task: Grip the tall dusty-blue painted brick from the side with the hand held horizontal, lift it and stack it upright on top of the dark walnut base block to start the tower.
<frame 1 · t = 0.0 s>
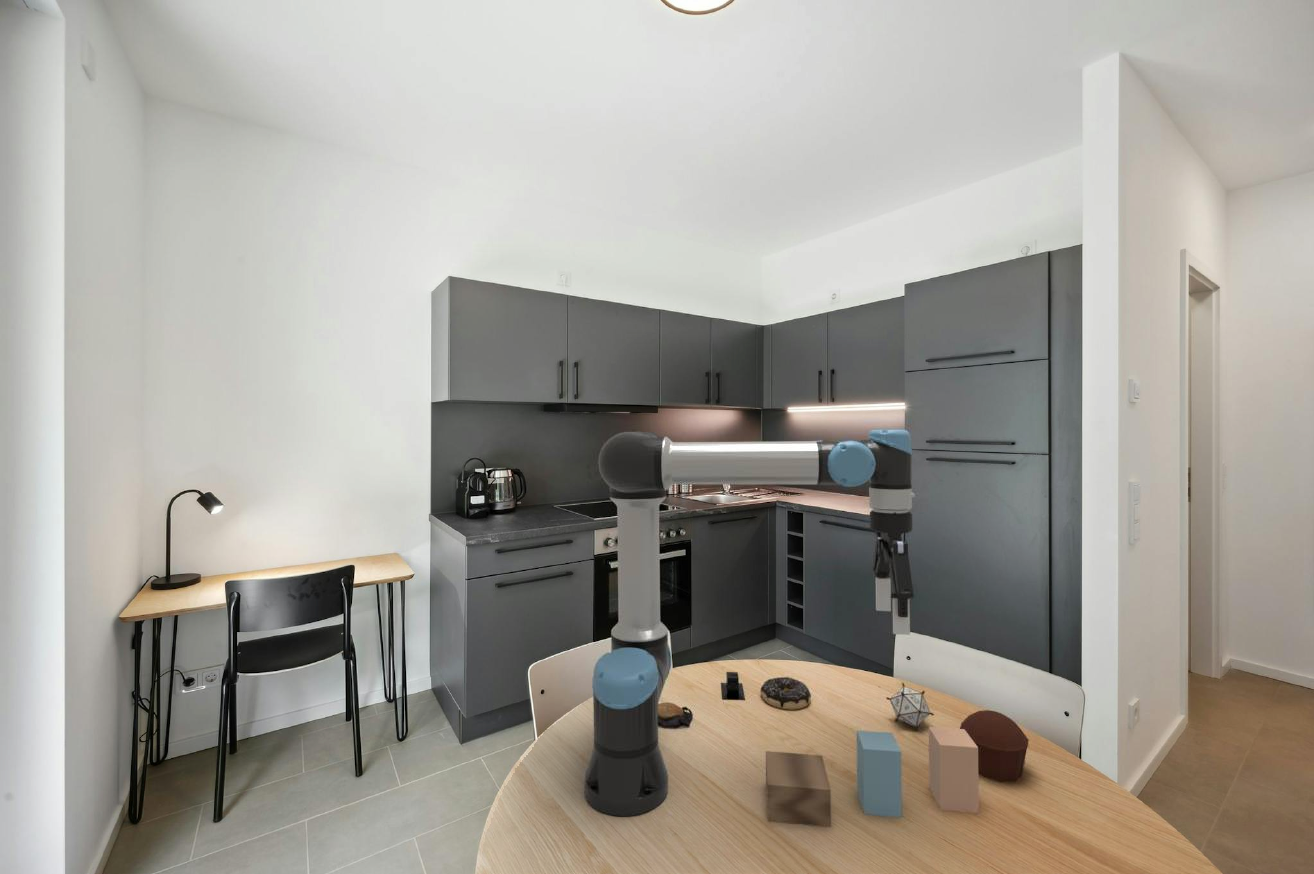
hand: (891, 621, 107), 28 cm above the table, tool pointing down, fingers open, 13 cm apart
brown and black lump: (668, 722, 127), on the table
donut: (786, 701, 135), on the table
base block: (796, 804, 97), on the table
clay brick: (953, 800, 98), on the table
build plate: (732, 694, 140), on the table
blue brick: (878, 804, 97), on the table
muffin: (993, 769, 107), on the table
game die: (909, 725, 123), on the table
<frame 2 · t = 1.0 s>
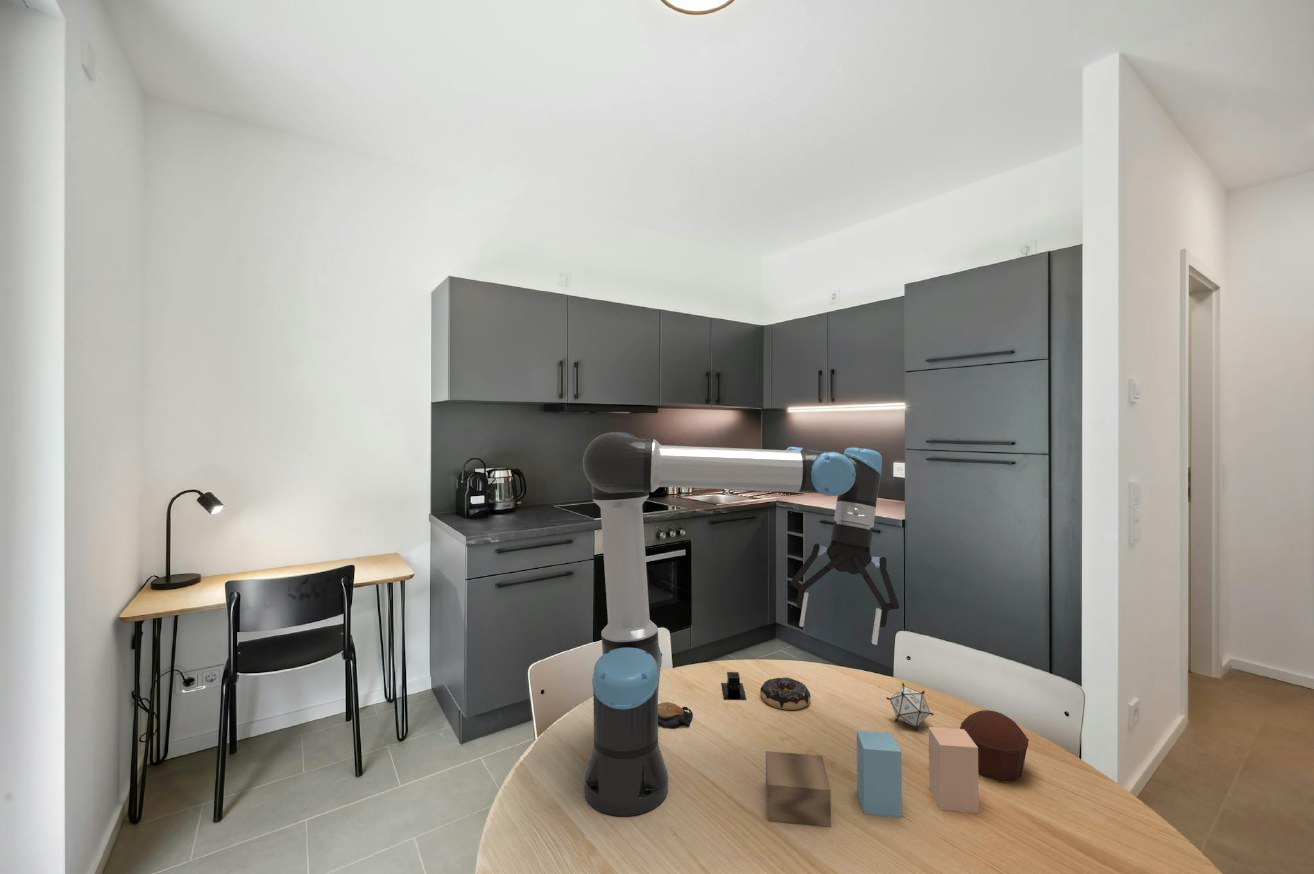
hand: (837, 634, 109), 25 cm above the table, tool pointing down, fingers open, 13 cm apart
nothing on the table moved.
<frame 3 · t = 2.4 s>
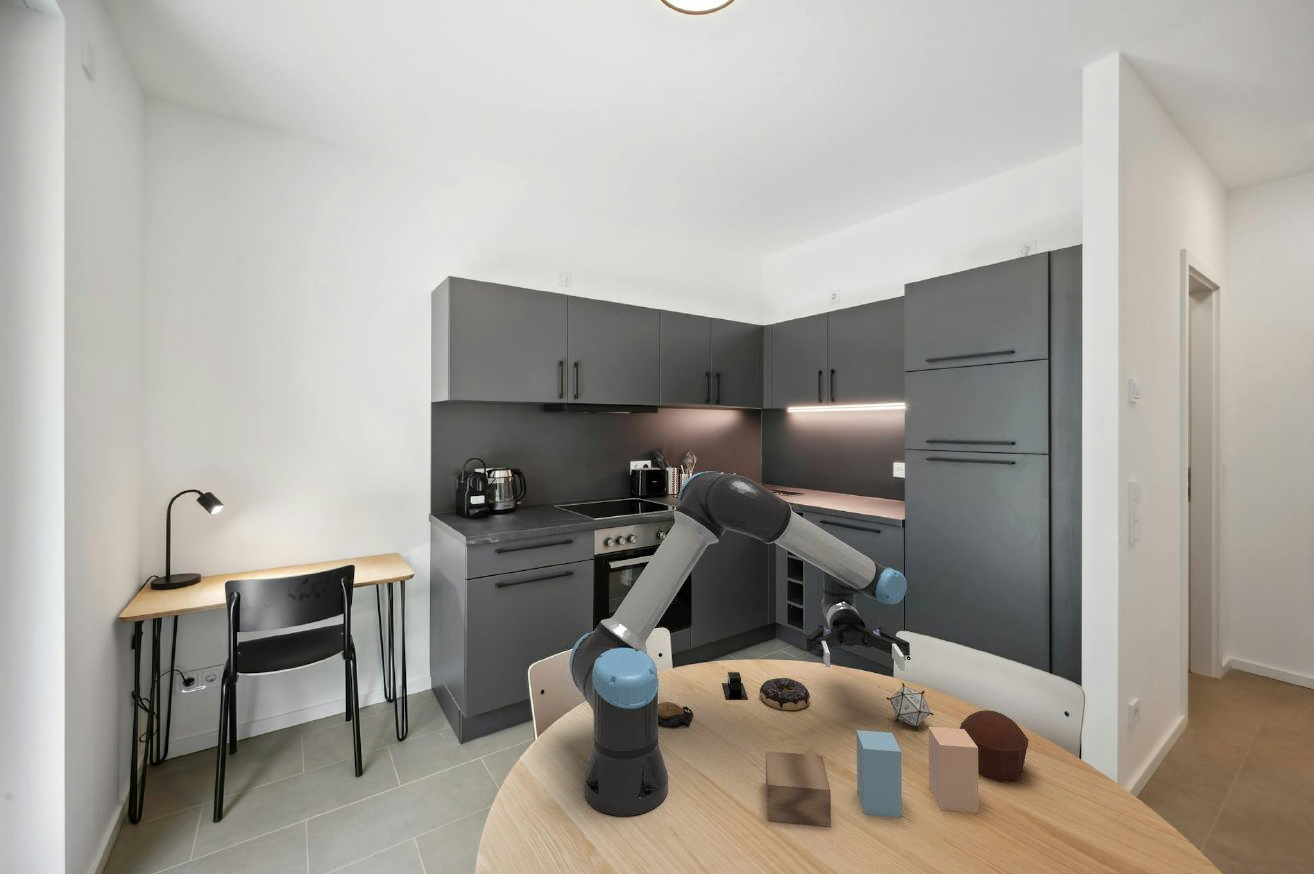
hand: (864, 661, 107), 20 cm above the table, tool horizontal, fingers open, 13 cm apart
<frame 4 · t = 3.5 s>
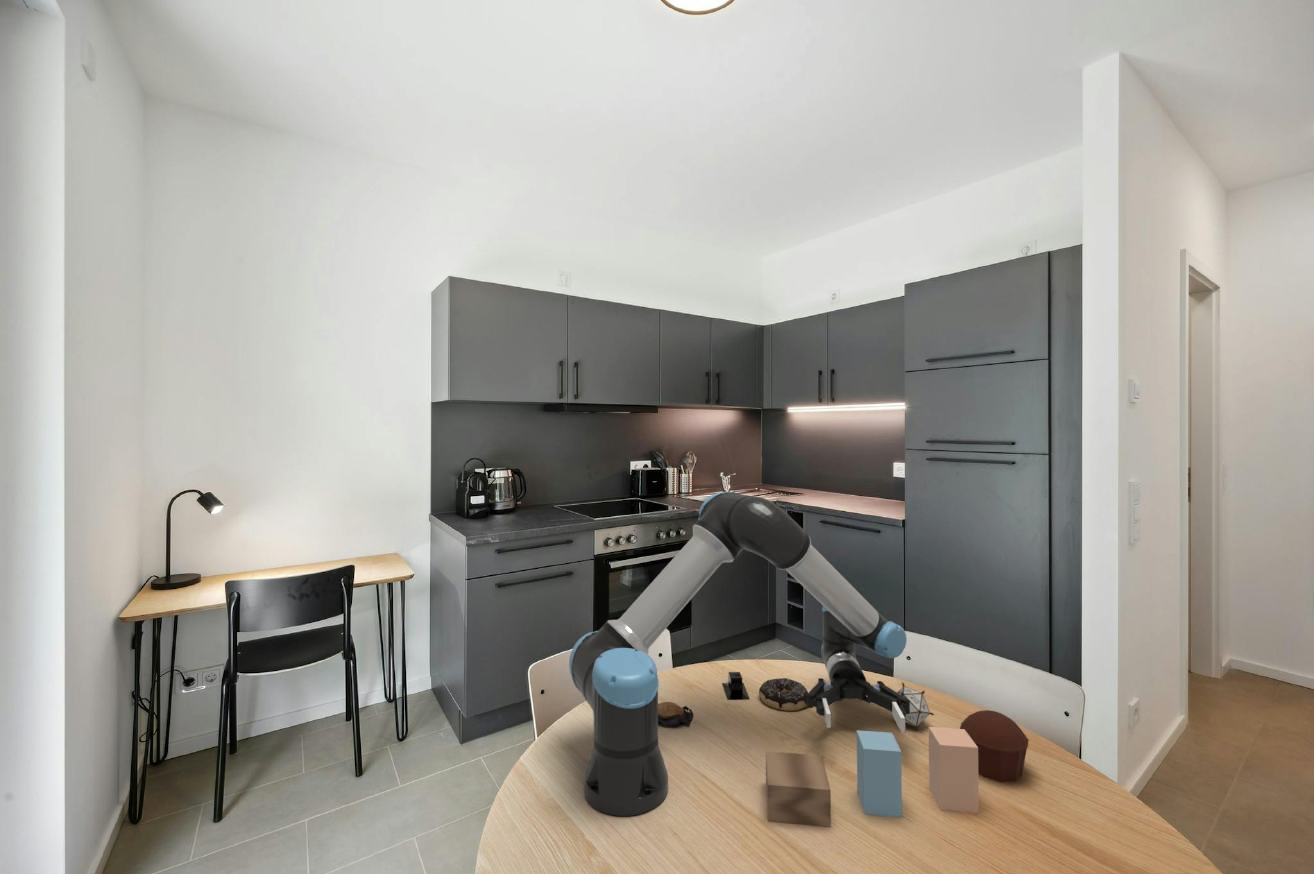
hand: (865, 723, 107), 9 cm above the table, tool horizontal, fingers open, 13 cm apart
nothing on the table moved.
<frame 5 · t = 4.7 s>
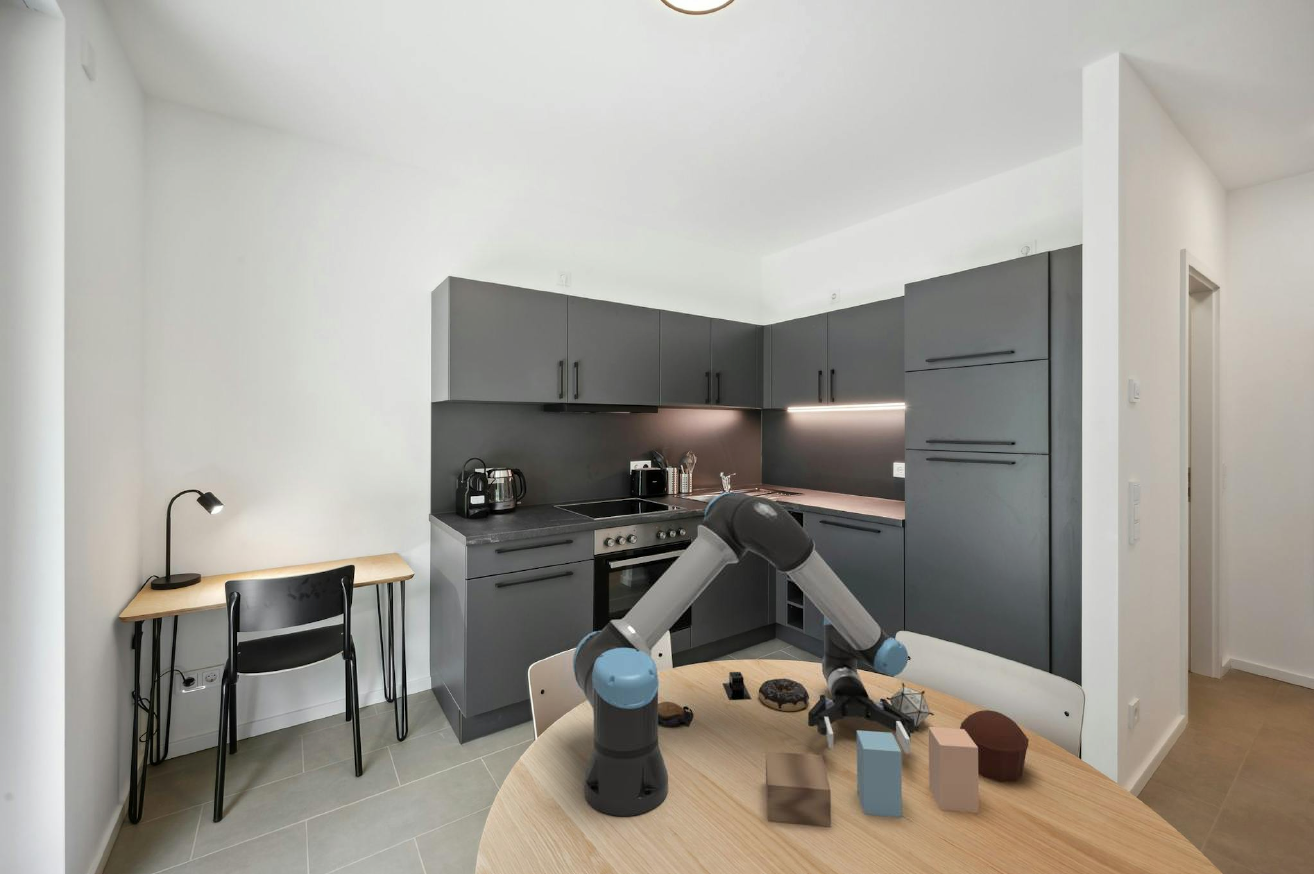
hand: (869, 743, 104), 6 cm above the table, tool horizontal, fingers open, 13 cm apart
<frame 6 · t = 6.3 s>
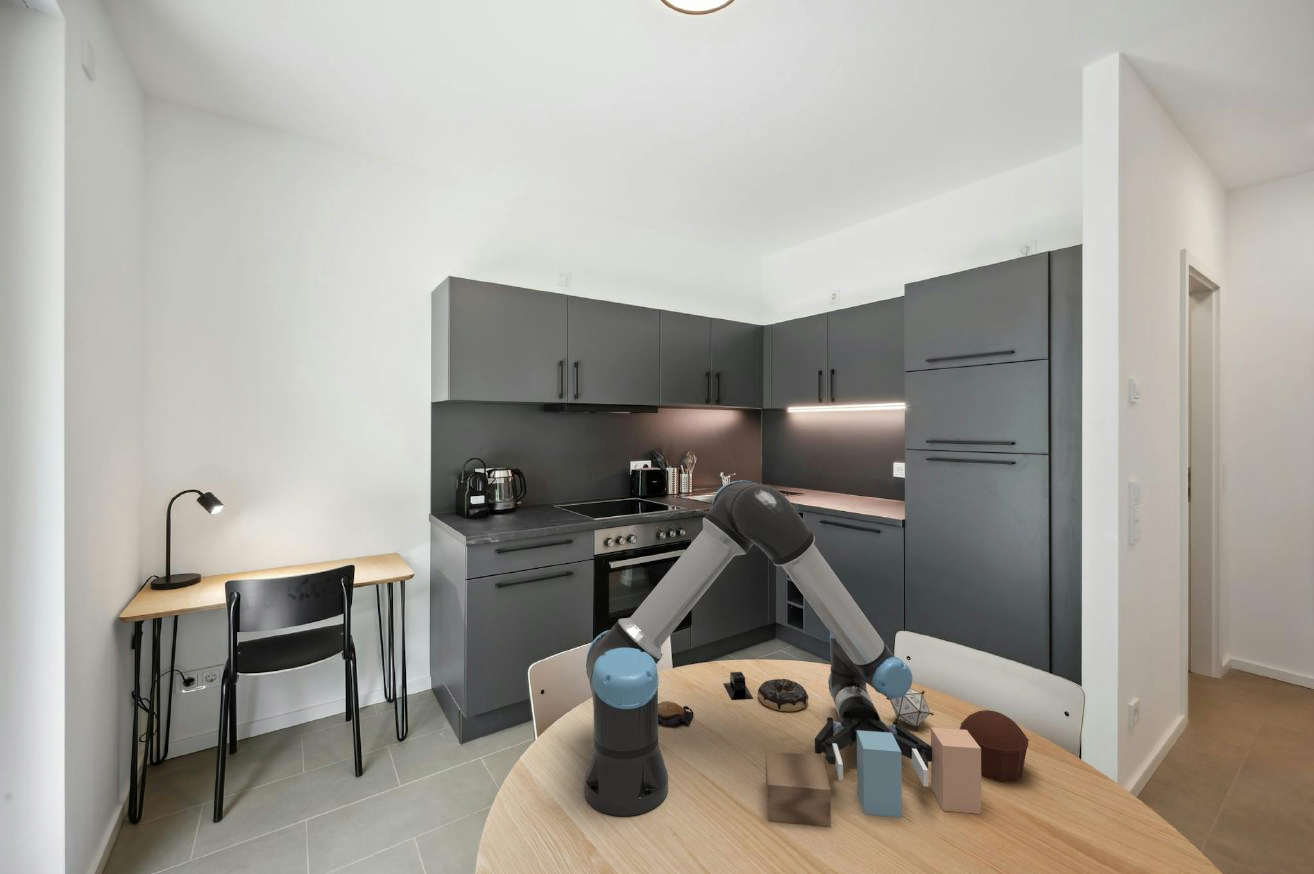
hand: (883, 775, 94), 6 cm above the table, tool horizontal, fingers open, 13 cm apart
clay brick: (955, 801, 97), on the table, touching hand
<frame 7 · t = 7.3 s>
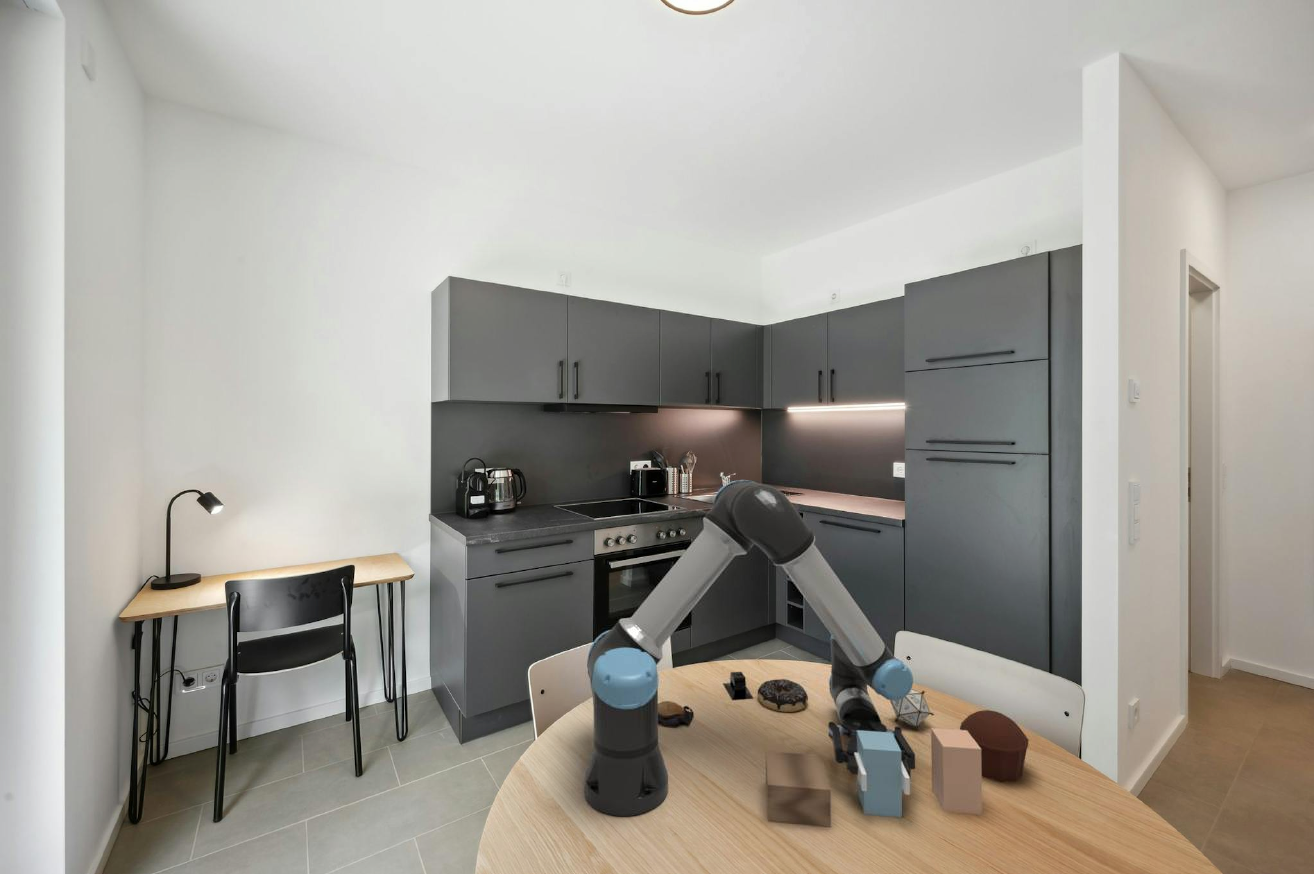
hand: (885, 784, 92), 7 cm above the table, tool horizontal, fingers closed on blue brick, 6 cm apart
clay brick: (956, 801, 97), on the table
blue brick: (878, 804, 97), on the table, touching gripper
when the fingers open (14 cm above the table, at t = 11.2 s): blue brick drops 1 cm, resting on base block.
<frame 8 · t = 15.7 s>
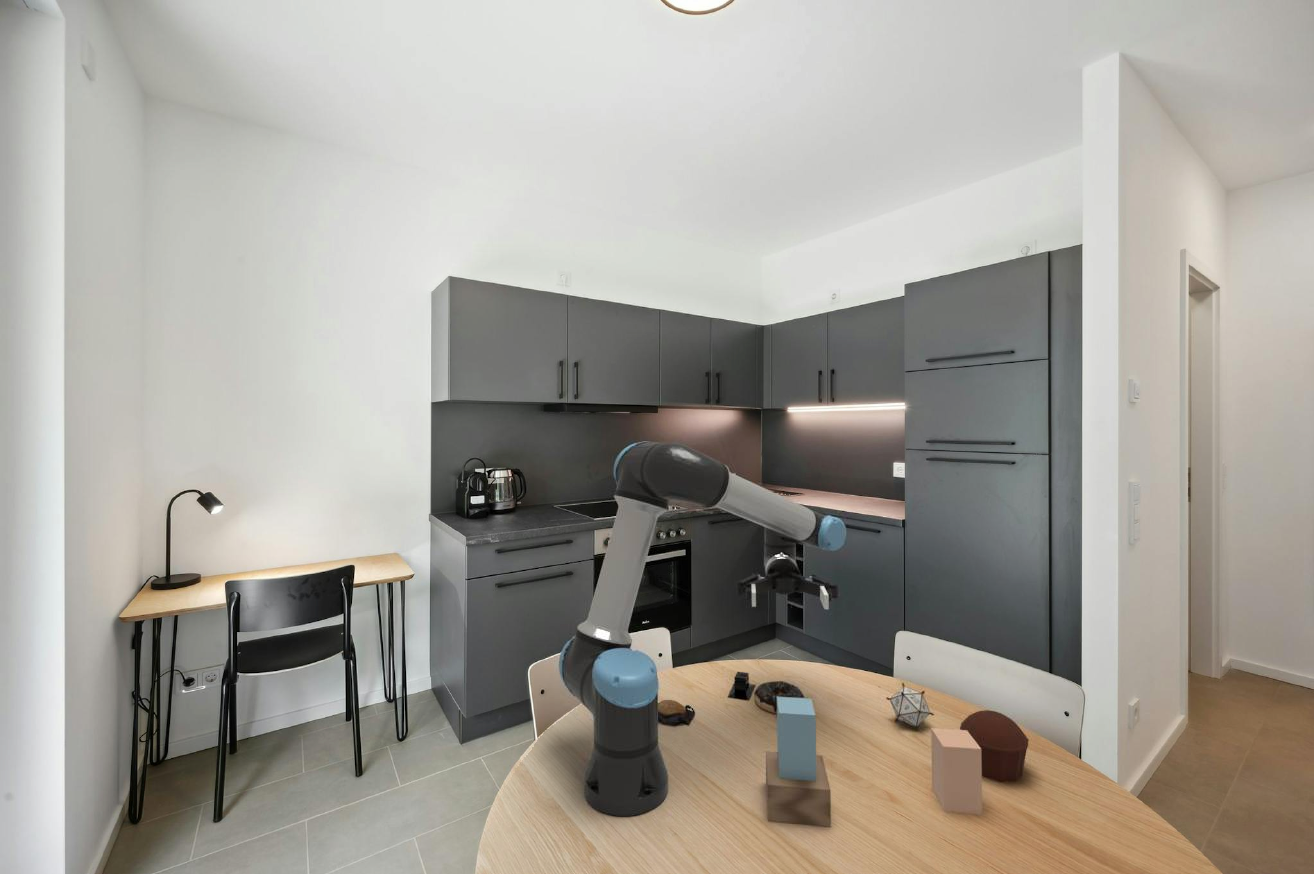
hand: (789, 601, 108), 32 cm above the table, tool horizontal, fingers open, 13 cm apart
donut: (780, 706, 133), on the table
blue brick: (796, 769, 97), point 6 cm above the table, touching base block
at the end: blue brick inside the target area on the base block (0.1 cm from its centre), point 6.0 cm above the base block's base; blue brick tilted 0°; the gripper is holding nothing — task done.
